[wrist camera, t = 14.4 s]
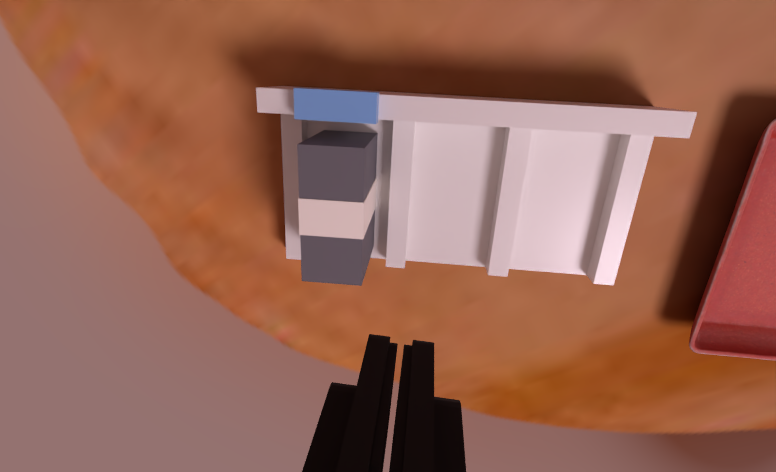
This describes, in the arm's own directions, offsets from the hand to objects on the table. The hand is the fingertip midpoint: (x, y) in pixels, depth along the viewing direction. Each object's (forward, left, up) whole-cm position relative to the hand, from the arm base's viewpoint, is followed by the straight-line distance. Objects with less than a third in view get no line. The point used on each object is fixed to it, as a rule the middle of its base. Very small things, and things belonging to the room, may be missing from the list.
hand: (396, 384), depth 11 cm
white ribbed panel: (0, +3, -23) cm, 23 cm away
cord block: (+1, -5, -23) cm, 23 cm away
